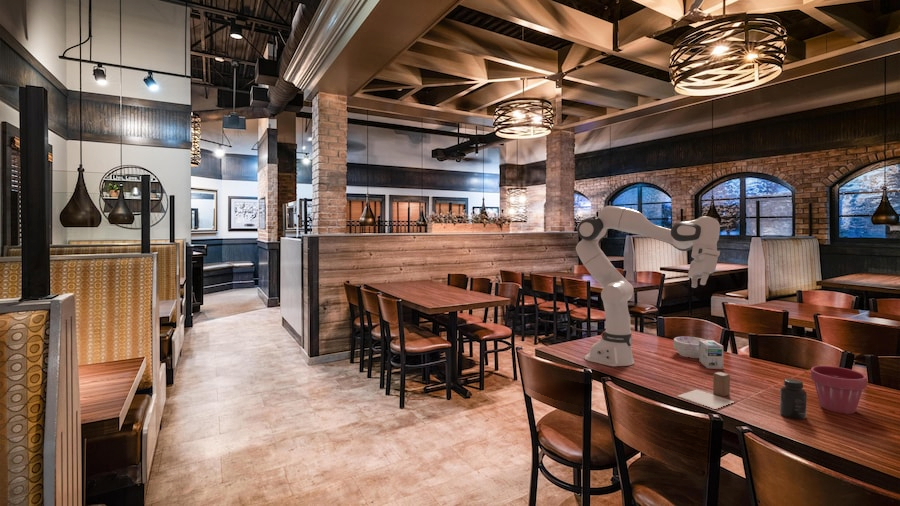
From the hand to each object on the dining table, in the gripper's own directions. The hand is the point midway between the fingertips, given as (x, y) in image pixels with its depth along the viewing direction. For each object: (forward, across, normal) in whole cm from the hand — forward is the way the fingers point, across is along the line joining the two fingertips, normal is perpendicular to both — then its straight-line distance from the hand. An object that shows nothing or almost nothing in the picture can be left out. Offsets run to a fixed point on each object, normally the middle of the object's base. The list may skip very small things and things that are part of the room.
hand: (698, 285), depth 175 cm
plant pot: (+35, +15, +44) cm, 59 cm away
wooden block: (+41, +7, +12) cm, 43 cm away
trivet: (+44, +13, +4) cm, 46 cm away
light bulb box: (+30, -28, +20) cm, 46 cm away
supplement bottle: (+42, +24, +27) cm, 55 cm away
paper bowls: (+27, -43, +16) cm, 53 cm away
